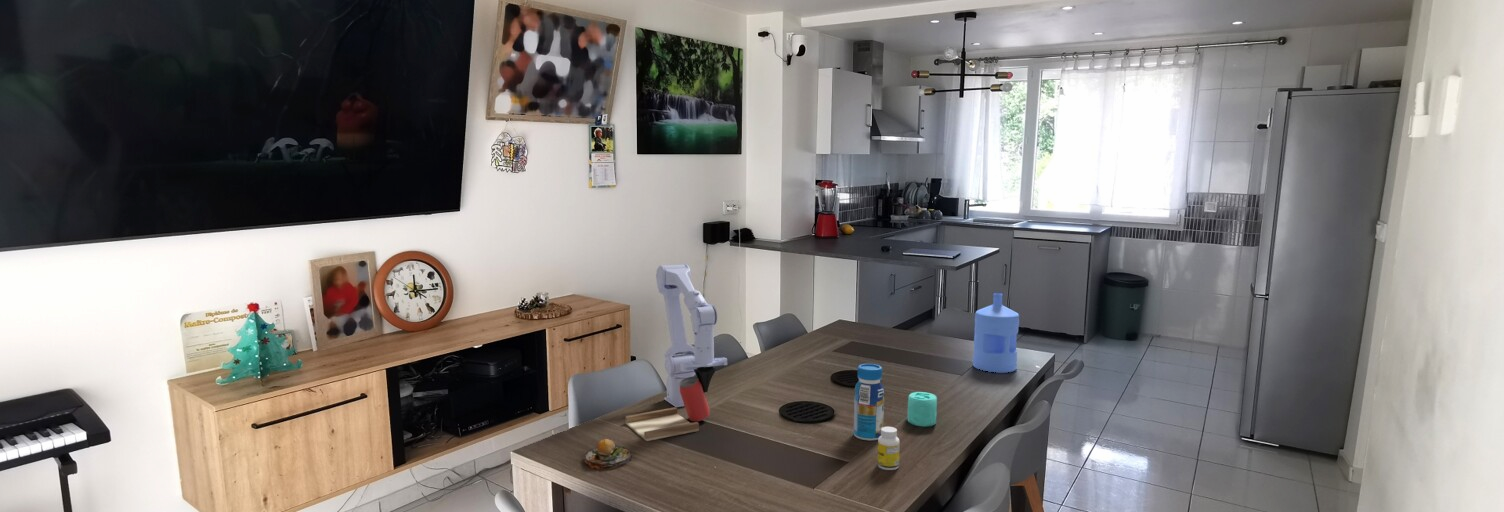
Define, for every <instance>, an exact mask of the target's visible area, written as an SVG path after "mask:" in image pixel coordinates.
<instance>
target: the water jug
mask: <svg viewBox="0 0 1504 512" xmlns="http://www.w3.org/2000/svg"><path fill="white" fill-rule="evenodd" d="M1003 295H1004V294H1003V293H999V292H998V293H997V292H995V293H993V298H992V301H993V303H992V304H990V305H988V306H985V307H983V308H980V309H978V310H976V311H975V315H974V337H973V357H972V365H973V367H974V368H975V369H977V370H979V369H980V370H979V371H982V370H983V371H982V372H985V371H988V372H987V373H991V372H994V373H995V372H996V373H995V374H1007V373H1008V372H1009V373H1012V372H1015V371H1016V370H1017V368H1018V350H1017V336H1018V333H1019V327H1020V313H1018V312H1016V311H1015V310H1013V309H1010V308H1008V307H1007V306H1004V305H1003ZM994 373H993V374H994Z"/></svg>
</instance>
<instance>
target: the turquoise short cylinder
mask: <svg viewBox="0 0 1504 512" xmlns="http://www.w3.org/2000/svg"><path fill="white" fill-rule="evenodd" d="M937 405H938V397H937V396H936V395H935V394H933V393H930V392H924V391H915V392H910V394H909V395H908V399H907V422H908V423H909V424H911V425H913V426H916V427H921V428H922V427H925V428H926V427H928V428H929V427H932V426H935V424H936V423H937V408H938V407H937Z"/></svg>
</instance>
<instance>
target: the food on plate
mask: <svg viewBox="0 0 1504 512" xmlns="http://www.w3.org/2000/svg"><path fill="white" fill-rule="evenodd" d="M632 458H633V457H632V451H631V450H630V449H628V448H626V447H623V446H620V445H619V446H618V445H615V442H614V441H613V440H611V439H608V438H604V437H603V439H601V440H600V441H599V442H598V444H597V446H596V448H593V449H590V450H589V451H587V452H586V453H585V454H584V464H586V465H588V467H589V468H592V469H594V468H595V469H596V470H612V469H618V468H621V467H624V466H627V464H629V462H631V461H632Z"/></svg>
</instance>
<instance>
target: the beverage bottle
mask: <svg viewBox="0 0 1504 512" xmlns="http://www.w3.org/2000/svg"><path fill="white" fill-rule="evenodd" d="M857 378H858V381H857V382H856V383H855V387H854V392H855V394H854V396H853V403H854V405H853V406H854V407H853V408H854V409H853V436H854V437H856V438H857V439H859V440H862V441H868V442H869V441H878V438H879V437H880V436H882V435H881V428H883V427H884V411H885V397H884V393H885V389H884V385H883V384H882V382H881V380H882V379H883V367H882V366H881V365H879V364H875V363H863V364H862V363H861V364H859V365H858V366H857Z"/></svg>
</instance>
